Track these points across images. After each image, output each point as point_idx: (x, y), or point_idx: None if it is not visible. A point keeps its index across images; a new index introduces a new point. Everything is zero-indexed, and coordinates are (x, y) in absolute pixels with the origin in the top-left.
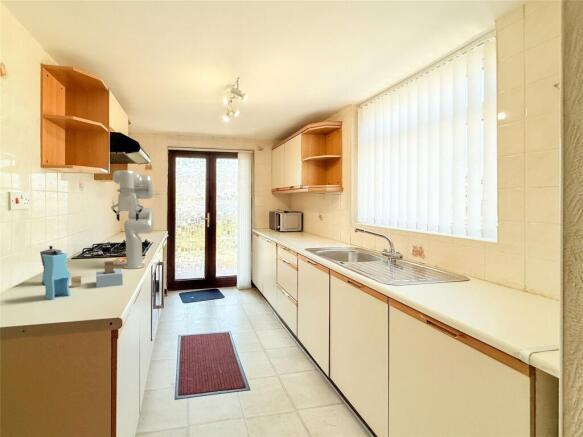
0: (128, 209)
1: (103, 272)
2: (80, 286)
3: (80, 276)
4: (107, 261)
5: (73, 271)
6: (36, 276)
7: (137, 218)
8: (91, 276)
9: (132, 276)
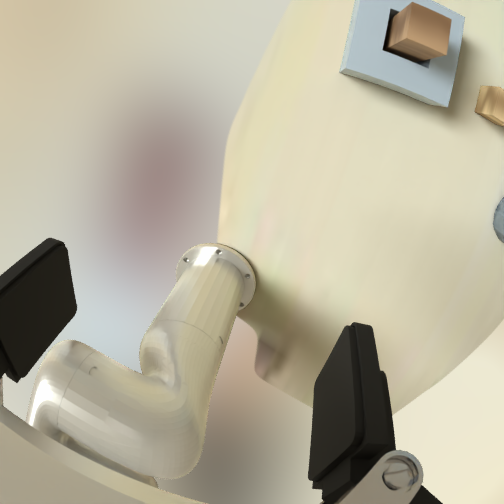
0: (26, 482)
1: (426, 68)
2: (482, 86)
3: (496, 104)
4: (434, 37)
5: (405, 338)
6: (488, 332)
7: (30, 252)
8: (405, 225)
9: (277, 103)
